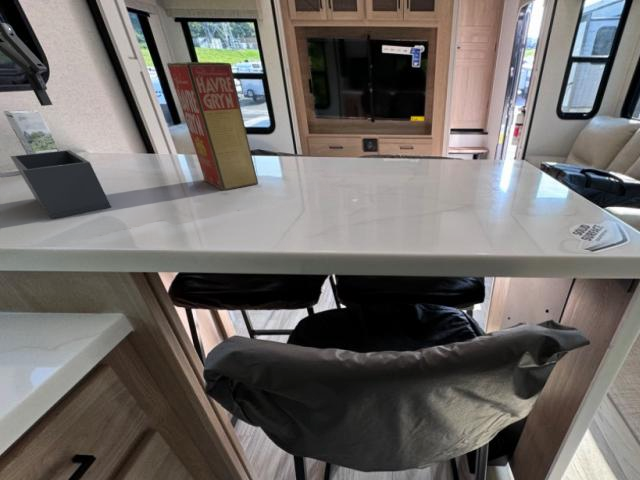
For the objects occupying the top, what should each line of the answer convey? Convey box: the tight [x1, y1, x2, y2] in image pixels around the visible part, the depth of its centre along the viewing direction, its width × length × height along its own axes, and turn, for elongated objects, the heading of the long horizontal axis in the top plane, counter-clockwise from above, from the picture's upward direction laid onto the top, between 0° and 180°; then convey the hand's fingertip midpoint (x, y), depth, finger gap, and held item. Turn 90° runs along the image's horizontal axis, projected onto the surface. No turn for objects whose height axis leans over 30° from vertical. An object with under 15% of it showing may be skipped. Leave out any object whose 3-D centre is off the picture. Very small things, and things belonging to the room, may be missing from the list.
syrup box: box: [3, 109, 61, 155], centre depth 90 cm, size 6×6×14 cm
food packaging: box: [166, 61, 259, 192], centre depth 78 cm, size 13×9×25 cm
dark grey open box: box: [10, 149, 112, 220], centre depth 68 cm, size 17×9×9 cm, turn 49°
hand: (19, 105), depth 86 cm, fingers open, 13 cm apart
